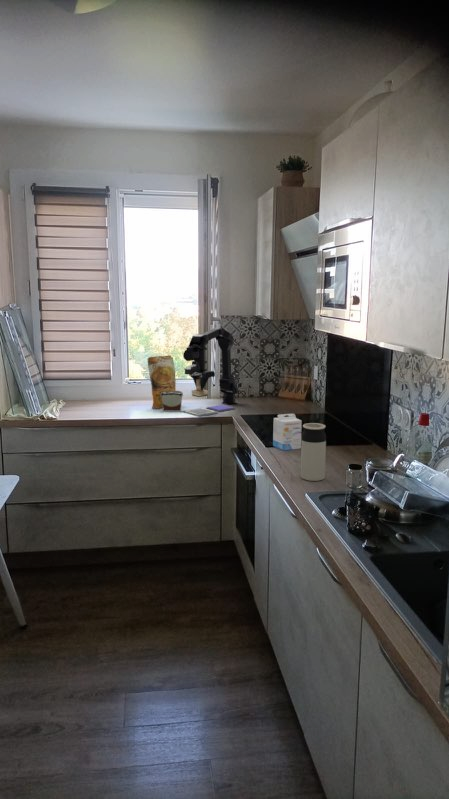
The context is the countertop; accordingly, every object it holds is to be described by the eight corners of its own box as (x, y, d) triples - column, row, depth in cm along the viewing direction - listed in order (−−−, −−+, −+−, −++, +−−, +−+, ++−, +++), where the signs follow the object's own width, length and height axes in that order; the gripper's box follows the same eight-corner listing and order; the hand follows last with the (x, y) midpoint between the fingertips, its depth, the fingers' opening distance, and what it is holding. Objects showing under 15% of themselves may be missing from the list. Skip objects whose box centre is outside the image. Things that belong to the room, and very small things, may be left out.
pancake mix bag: (145, 407, 301) (143, 357, 296) (173, 403, 314) (172, 354, 308) (152, 409, 296) (151, 357, 291) (180, 404, 309) (179, 355, 304)
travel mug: (316, 483, 179) (317, 429, 175) (296, 478, 184) (297, 425, 181) (329, 477, 184) (331, 425, 181) (309, 472, 190) (310, 421, 186)
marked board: (200, 409, 297) (200, 407, 297) (217, 413, 286) (217, 411, 286) (182, 412, 290) (182, 410, 289) (199, 416, 278) (199, 415, 278)
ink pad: (221, 406, 304) (221, 404, 304) (234, 409, 296) (234, 407, 296) (206, 408, 297) (206, 407, 297) (219, 412, 289) (219, 410, 289)
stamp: (200, 394, 290) (200, 378, 289) (207, 395, 286) (207, 379, 284) (191, 395, 286) (191, 379, 285) (198, 397, 282) (198, 380, 280)
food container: (185, 408, 298) (185, 390, 296) (183, 411, 292) (183, 392, 290) (163, 408, 300) (162, 390, 298) (160, 410, 294) (160, 392, 292)
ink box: (282, 451, 216) (283, 417, 214) (272, 445, 224) (272, 413, 221) (301, 448, 219) (302, 415, 217) (290, 443, 227) (291, 411, 225)
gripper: (176, 358, 284) (176, 388, 287) (198, 361, 270) (198, 393, 273) (193, 357, 291) (193, 386, 294) (215, 360, 277) (215, 390, 280)
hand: (199, 389), depth 285 cm, fingers closed on stamp, 4 cm apart
